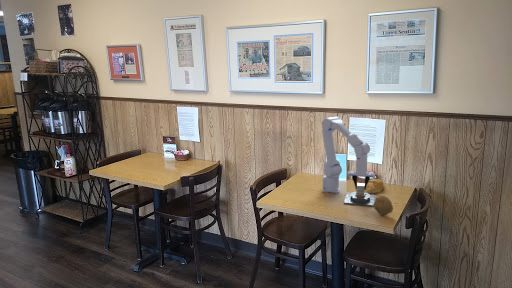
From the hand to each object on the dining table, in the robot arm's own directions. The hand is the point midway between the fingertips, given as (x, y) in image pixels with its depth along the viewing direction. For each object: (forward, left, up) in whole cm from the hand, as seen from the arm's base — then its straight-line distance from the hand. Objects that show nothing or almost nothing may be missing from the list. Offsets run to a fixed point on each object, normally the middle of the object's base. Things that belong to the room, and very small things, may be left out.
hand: (360, 189), depth 211 cm
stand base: (0, 0, -7) cm, 7 cm away
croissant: (+6, +20, -7) cm, 22 cm away
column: (0, 0, -4) cm, 4 cm away
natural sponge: (+12, -17, -7) cm, 22 cm away
